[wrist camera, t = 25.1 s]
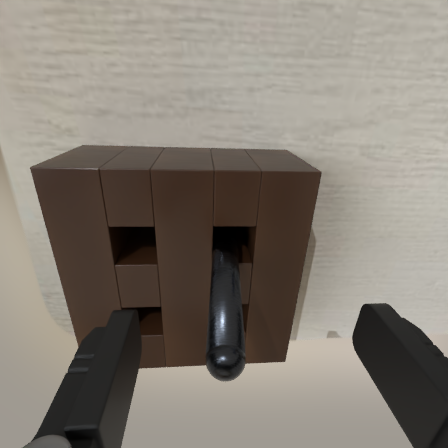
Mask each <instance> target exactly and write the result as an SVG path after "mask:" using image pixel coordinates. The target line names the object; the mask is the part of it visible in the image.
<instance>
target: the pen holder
mask: <svg viewBox="0 0 448 448" xmlns="http://www.w3.org/2000/svg"><path fill="white" fill-rule="evenodd" d="M30 169H31V173H32V177H33V180H34V184H35V188H36V191H37V195H38V199H39V202H40V206H41V210H42V214H43V217H44V221H45V225H46V228H47V232H48V236H49V239H50V243H51V247H52V251H53V254H54V258H55V262H56V265H57V269H58V273H59V276H60V280H61V284H62V288H63V291H64V295H65V299H66V302H67V306H68V310H69V313H70V317H71V321H72V324H73V328H74V332H75V336H76V339H77V343H78V347H79V346H80V344H81V341H82V340H83V339H84V338H85V337H86V336H87V335H88V334H89V333H90V332H91V331H92V330H93V329H94V328H95V327H106V325H107V323H108V320H109V318H110V315H111V313H112V311H113V310H135V309H136V310H137V311H138V317H139V324H140V332H141V340H142V353H141V360H140V365H139V368H159V367H179V366H201V365H206V359H205V357H206V342H207V328H208V313H209V299H210V284H211V269H212V255H213V240H214V226H236V230H237V244H238V257H239V271H240V285H241V299H242V312H243V326H244V340H245V354H246V363H245V364H247V363H268V362H285V360H286V355H287V350H288V344H289V339H290V334H291V329H292V324H293V318H294V313H295V308H296V303H297V298H298V292H299V287H300V282H301V277H302V272H303V266H304V261H305V256H306V251H307V246H308V240H309V235H310V230H311V225H312V220H313V214H314V209H315V204H316V199H317V194H318V188H319V183H320V178H321V171H319V170H318V169H316V168H314V167H313V166H311V165H310V164H308V163H306V162H305V161H303V160H302V159H300V158H298V157H297V156H295V155H294V154H292V153H291V152H289V151H287V150H265V149H220V148H211V149H210V148H178V147H136V146H130V147H129V146H93V145H82V146H80V147H77V148H75V149H73V150H70V151H68V152H65V153H63V154H61V155H58V156H56V157H54V158H51V159H49V160H46V161H44V162H42V163H39V164H37V165H35V166H32V167H30Z"/></svg>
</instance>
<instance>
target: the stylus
mask: <svg viewBox="0 0 448 448" xmlns="http://www.w3.org/2000/svg"><path fill="white" fill-rule="evenodd" d="M205 359H206V366H207V369H208V370H209V372H210V374H211V375H212V376H213V377H214V378H216V379H218V380H220V381H231V380H234V379H235V378H237V377H238V376H239V375H240V374H241V373H242V371H243V369H244V366H245V363H246V354H245V340H244V326H243V312H242V299H241V285H240V271H239V257H238V244H237V230H236V226H214V240H213V255H212V269H211V284H210V299H209V313H208V328H207V342H206V357H205Z"/></svg>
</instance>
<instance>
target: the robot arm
mask: <svg viewBox="0 0 448 448" xmlns="http://www.w3.org/2000/svg"><path fill="white" fill-rule="evenodd" d="M352 339H353V346H354V349H355V351H356V353H357V355H358V357H359V358H360V360H361V362H362V363H363V365H364V366H365V368H366V370H367V371H368V373H369V375H370V376H371V378H372V380H373V381H374V383H375V385H376V386H377V388H378V390H379V391H380V393H381V394H382V396H383V398H384V399H385V401H386V403H387V404H388V406H389V408H390V409H391V411H392V413H393V414H394V416H395V418H396V419H397V421H398V423H399V424H400V426H401V427H402V429H403V431H404V432H405V434H406V436H407V437H408V439H409V441H410V442H411V444H412V446H413V447H414V448H448V358H447V357H444V355H443V353H442V352H441V351H440V350H439V349H438V347H437V346H436V345H433V342H432V341H431V340H430V339H429V338H428V337H427V336H426V335H425V334H424V333H423V331H422V330H421V329H419V328H418V327H417V326H415V325H414V324H412V323H411V322H409V321H408V320H406V319H405V318H401V317H400V316H399V314H398V313H397V312H396V311H395V310H394V309H393V308H392V307H391V306H390V305H389V304H386V303H379V304H364V305H363V306H362V308H361V311H360V314H359V317H358V320H357V323H356V326H355V329H354V332H353V337H352ZM141 353H142V340H141V332H140V324H139V317H138V311H137V310H136V309H135V310H113V311H112V313H111V315H110V318H109V320H108V323H107V325H106V327H95V328H94V329H93V330H92V331H91V332H90V333H89V334H88V335H87V336H86V337H85V338H84V339H83V340H82V341H81V344H80V346H79V348H78V350H77V352H76V354H75V357H74V359H73V360H72V363H71V364H70V366H69V369H68V373H66V375H65V377H64V379H63V381H62V383H61V385H60V387H59V389H58V391H57V393H56V396H55V397H54V400H53V402H52V404H51V406H50V408H49V410H48V412H47V414H46V416H45V418H44V420H43V422H42V424H41V426H40V428H39V430H38V432H37V434H36V435H35V437H34V439H33V440H32V441H31V442H30V443H28V444H27V445H25V446H24V447H23V448H121V445H122V439H123V436H124V431H125V427H126V422H127V418H128V413H129V409H130V405H131V400H132V396H133V391H134V387H135V383H136V378H137V374H138V369H139V365H140V360H141Z"/></svg>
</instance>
